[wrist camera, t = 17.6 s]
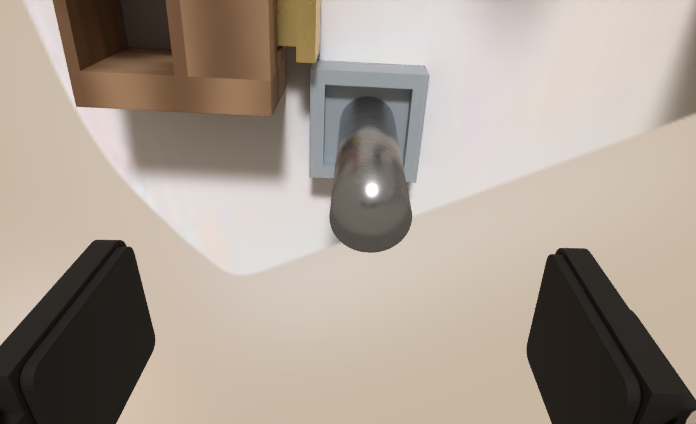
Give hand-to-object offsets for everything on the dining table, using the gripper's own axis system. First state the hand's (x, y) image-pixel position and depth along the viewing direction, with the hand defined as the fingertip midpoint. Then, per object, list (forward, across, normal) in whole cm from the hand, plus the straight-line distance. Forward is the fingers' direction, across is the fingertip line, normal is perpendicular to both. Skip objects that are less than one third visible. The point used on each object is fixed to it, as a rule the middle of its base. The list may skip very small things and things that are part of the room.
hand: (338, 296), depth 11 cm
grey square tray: (+28, -1, +5) cm, 28 cm away
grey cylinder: (+26, -1, +5) cm, 27 cm away
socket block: (+28, +11, -3) cm, 30 cm away
